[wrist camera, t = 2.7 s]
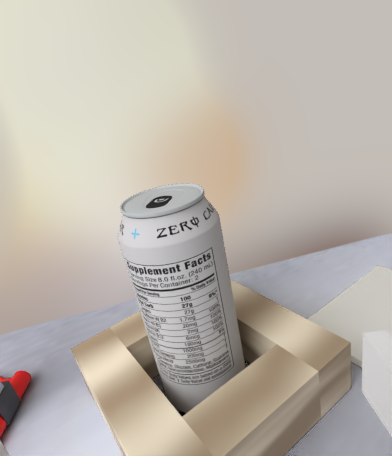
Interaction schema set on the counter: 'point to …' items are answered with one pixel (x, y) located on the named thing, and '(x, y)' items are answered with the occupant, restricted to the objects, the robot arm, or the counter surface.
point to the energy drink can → (182, 289)
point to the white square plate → (359, 310)
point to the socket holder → (227, 394)
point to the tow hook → (11, 396)
